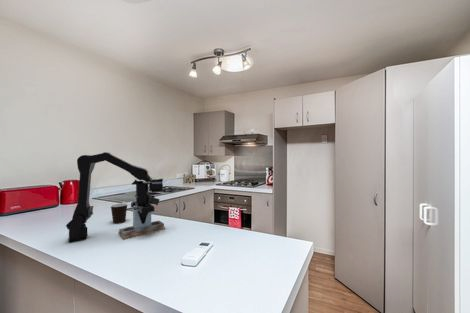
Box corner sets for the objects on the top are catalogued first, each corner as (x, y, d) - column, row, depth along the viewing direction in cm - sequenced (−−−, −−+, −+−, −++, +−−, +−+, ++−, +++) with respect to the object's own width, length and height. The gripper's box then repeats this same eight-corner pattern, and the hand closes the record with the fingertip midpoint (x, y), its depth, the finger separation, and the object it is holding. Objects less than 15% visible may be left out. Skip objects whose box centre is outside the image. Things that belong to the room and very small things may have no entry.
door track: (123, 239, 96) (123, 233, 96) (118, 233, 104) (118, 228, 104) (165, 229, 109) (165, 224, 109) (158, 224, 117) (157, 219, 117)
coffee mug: (122, 224, 118) (122, 206, 118) (107, 224, 118) (107, 206, 118) (132, 218, 130) (132, 202, 130) (119, 218, 130) (119, 202, 130)
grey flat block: (135, 229, 103) (134, 211, 103) (133, 227, 105) (133, 210, 105) (151, 225, 108) (151, 208, 108) (149, 224, 110) (149, 207, 110)
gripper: (164, 193, 105) (164, 223, 105) (151, 188, 119) (151, 215, 119) (141, 196, 97) (141, 229, 97) (130, 191, 111) (130, 219, 111)
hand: (142, 222), depth 106 cm, fingers closed on grey flat block, 3 cm apart
